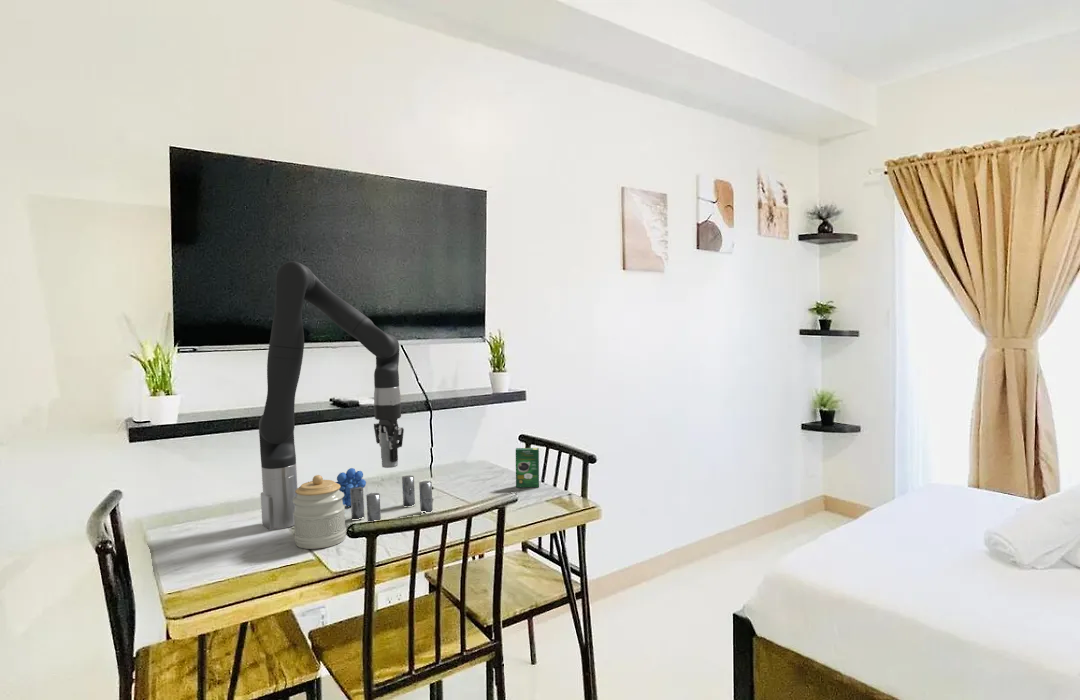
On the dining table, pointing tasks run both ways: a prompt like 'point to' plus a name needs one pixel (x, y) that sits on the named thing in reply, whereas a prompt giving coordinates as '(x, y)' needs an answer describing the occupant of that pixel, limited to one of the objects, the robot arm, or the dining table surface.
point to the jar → (319, 514)
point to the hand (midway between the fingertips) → (389, 459)
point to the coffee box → (527, 467)
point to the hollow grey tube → (386, 452)
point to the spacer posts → (374, 499)
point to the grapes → (350, 483)
